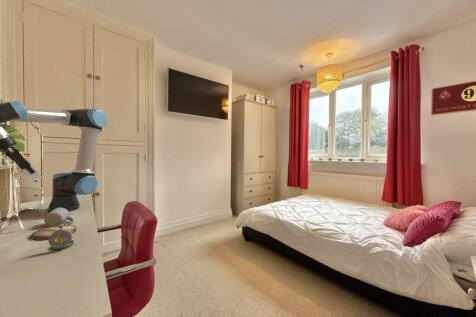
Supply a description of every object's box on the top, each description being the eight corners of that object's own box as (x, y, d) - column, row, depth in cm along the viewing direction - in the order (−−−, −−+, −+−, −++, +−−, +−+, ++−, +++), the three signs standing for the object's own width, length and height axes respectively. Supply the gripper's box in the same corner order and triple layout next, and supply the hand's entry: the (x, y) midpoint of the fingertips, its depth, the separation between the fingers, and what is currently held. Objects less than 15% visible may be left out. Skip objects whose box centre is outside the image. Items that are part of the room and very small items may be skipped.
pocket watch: (69, 241, 82) (69, 216, 82) (79, 245, 78) (80, 220, 78) (42, 248, 75) (43, 222, 74) (52, 254, 71) (53, 226, 71)
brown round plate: (41, 229, 93) (41, 226, 93) (81, 225, 99) (81, 223, 99) (22, 242, 79) (22, 239, 79) (69, 237, 85) (69, 234, 85)
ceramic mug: (42, 228, 94) (43, 212, 94) (50, 222, 102) (51, 207, 102) (70, 226, 99) (71, 210, 99) (76, 221, 106) (76, 206, 106)
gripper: (-12, 146, 92) (25, 183, 100) (-15, 140, 75) (30, 184, 84) (9, 138, 96) (43, 174, 105) (10, 131, 80) (50, 174, 89)
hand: (37, 179), depth 94 cm, fingers open, 13 cm apart
